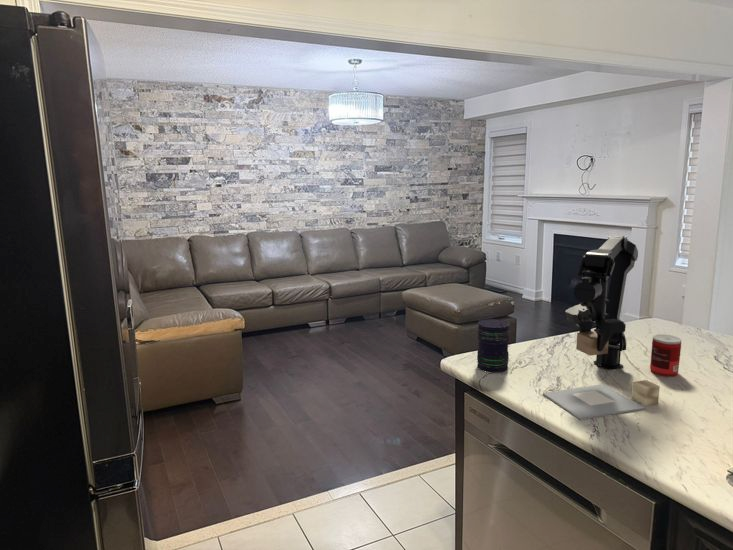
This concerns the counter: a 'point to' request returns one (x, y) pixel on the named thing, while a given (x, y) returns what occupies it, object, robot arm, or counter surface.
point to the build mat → (593, 401)
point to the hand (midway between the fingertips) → (592, 347)
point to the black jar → (493, 345)
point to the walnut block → (589, 343)
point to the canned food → (665, 355)
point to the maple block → (645, 392)
